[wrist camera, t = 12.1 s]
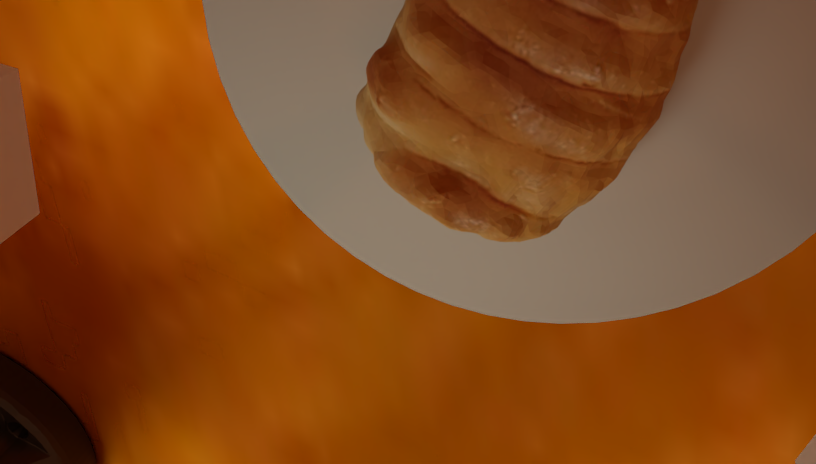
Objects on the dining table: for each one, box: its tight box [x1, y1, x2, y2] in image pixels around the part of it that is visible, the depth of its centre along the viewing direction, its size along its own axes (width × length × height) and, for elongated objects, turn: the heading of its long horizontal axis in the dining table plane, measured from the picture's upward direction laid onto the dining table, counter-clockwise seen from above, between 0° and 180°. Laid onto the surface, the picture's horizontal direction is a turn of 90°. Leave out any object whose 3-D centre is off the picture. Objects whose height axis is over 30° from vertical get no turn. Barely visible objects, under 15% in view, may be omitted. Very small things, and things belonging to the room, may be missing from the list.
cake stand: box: [202, 0, 816, 324], centre depth 21 cm, size 18×18×6 cm
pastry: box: [356, 0, 699, 242], centre depth 17 cm, size 9×7×4 cm
